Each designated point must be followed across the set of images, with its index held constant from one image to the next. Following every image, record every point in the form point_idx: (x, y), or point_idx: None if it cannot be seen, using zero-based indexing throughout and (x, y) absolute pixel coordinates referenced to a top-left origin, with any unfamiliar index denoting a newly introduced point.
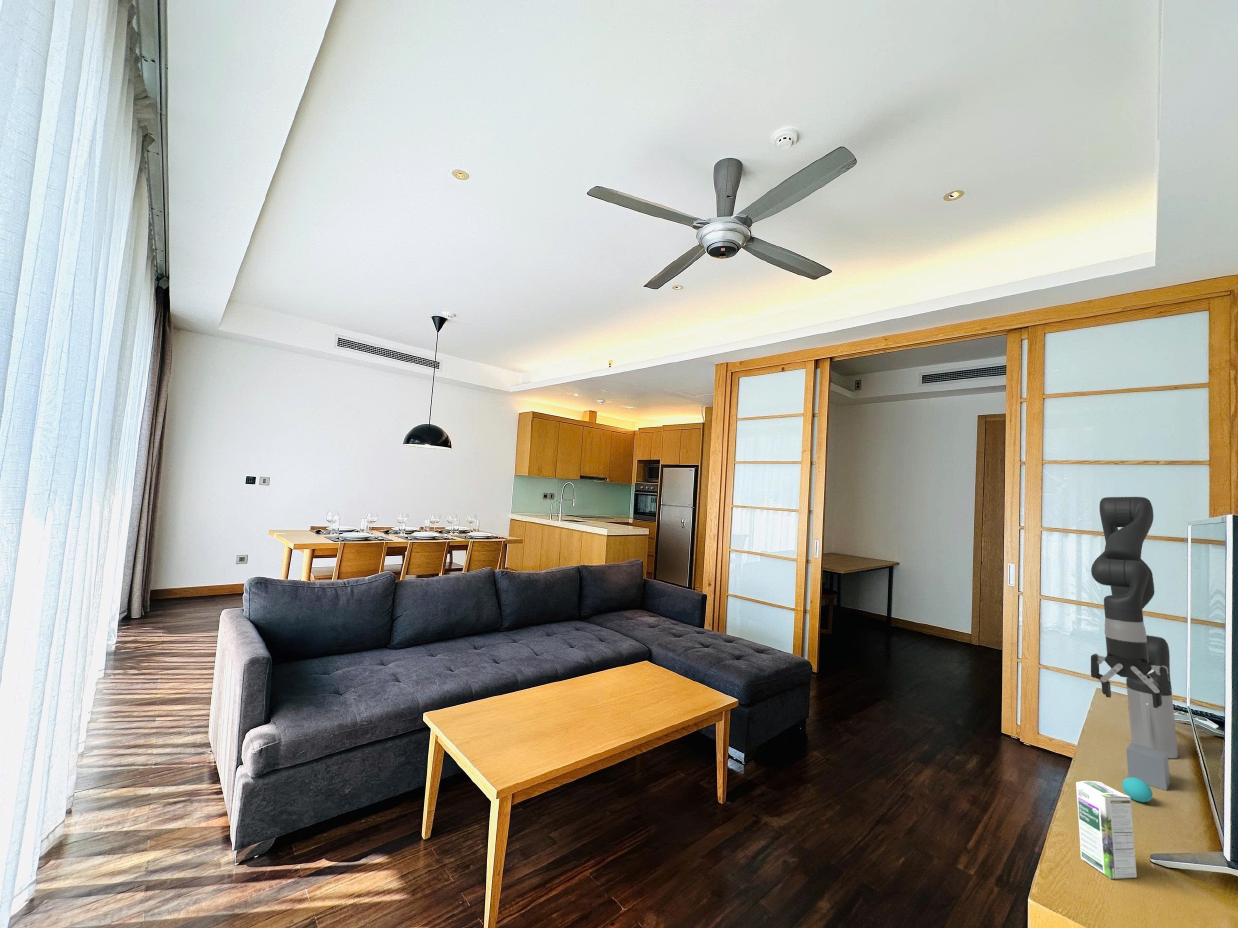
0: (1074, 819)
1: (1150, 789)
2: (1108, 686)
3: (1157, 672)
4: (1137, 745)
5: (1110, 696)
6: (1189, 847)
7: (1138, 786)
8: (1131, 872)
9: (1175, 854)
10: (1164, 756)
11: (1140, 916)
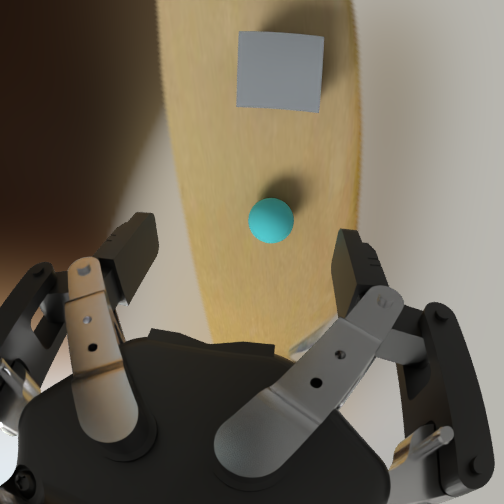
0: (220, 335)
1: (291, 226)
2: (134, 290)
3: (403, 455)
4: (255, 41)
5: (155, 229)
6: (325, 313)
7: (274, 242)
8: None
9: (310, 337)
10: (320, 83)
11: None
